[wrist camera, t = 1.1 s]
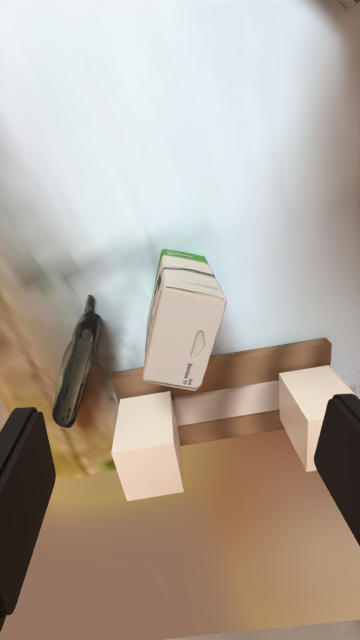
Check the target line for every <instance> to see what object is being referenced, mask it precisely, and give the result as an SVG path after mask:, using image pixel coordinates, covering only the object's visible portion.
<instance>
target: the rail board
mask: <svg viewBox="0 0 360 640" xmlns="http://www.w3.org/2000/svg"><path fill="white" fill-rule="evenodd" d="M331 345H332V344H331V343H330V342H329V341H328V340H327V339H326V338H321V339H315V340H309V341H303V342H296V343H290V344H284V345H278V346H272V347H266V348H260V349H254V350H247V351H241V352H235V353H229V354H223V355H217V356H211V357H210V358H209V361H208V365H207V369H206V371H205V374H204V377H203V381H202V384H201V385H200V386H199V388H198V389H197V390H196V391H193V390H188V389H181V388H175V387H170V386H165V385H160V384H155V383H151V382H147V381H144V380H143V371H144V367H143V368H137V369H131V370H125V371H119V372H113V376H112V383H113V386H114V389H115V393H116V396H117V400H118V403H119V404H120V399H125V398H131V397H137V396H143V395H149V394H155V393H161V392H168V391H170V392H171V397H172V402H173V407H174V412H175V417H176V422H177V427H178V432H179V441H180V446H182V445H188V444H194V443H200V442H206V441H213V440H218V439H225V438H230V437H237V436H242V435H249V434H255V433H262V432H267V431H274V430H280V429H285V428H284V426H283V424H282V422H281V420H280V416H279V373H284V372H290V371H296V370H302V369H308V368H315V367H321V366H327V365H329V366H330V361H331Z"/></svg>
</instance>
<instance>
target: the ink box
mask: <svg viewBox="0 0 360 640" xmlns="http://www.w3.org/2000/svg"><path fill="white" fill-rule="evenodd" d="M226 301H227V300H226V296H225V295H224V293H223V291H222V289H221V287H220V285H219V283H218V282H217V280H216V278H215V276H214V274H213V272H212V270H211V268H210V266H209V265H208V263H207V261H206V259H205V257H204V256H199V255H195V254H190V253H185V252H180V251H173V250H166V249H163V250H162V252H161V256H160V261H159V266H158V271H157V276H156V281H155V286H154V291H153V296H152V301H151V306H150V311H149V316H148V323H147V335H146V347H145V360H144V371H143V380H144V381H147V382H151V383H155V384H160V385H165V386H170V387H175V388H181V389H188V390H193V391H196V390H197V389H198V388H199V386H200V385H201V384H202V381H203V377H204V374H205V371H206V369H207V365H208V361H209V358H210V354H211V352H212V350H213V346H214V343H215V338H216V335H217V332H218V330H219V327H220V324H221V320H222V316H223V313H224V311H225V305H226Z"/></svg>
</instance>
